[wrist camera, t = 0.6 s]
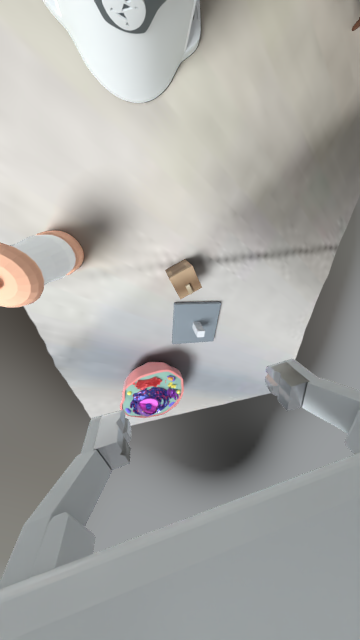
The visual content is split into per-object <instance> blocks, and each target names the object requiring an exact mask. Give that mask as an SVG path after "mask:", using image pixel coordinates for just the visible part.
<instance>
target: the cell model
mask: <svg viewBox="0 0 360 640" xmlns="http://www.w3.org/2000/svg"><path fill="white" fill-rule="evenodd" d="M183 391H184V386H183V378H182V375H181V373H180V371H179V370H178V369H176V368H174V367H172V366H170V365H168V364H166V363H164V362H147V363H145V364H144V365H142V366H140V367H138V368H136V369H134V370H133V371H132V372H131V373H130V374H129V375H128V376H127V378H126V379H125V382H124V385H123V394H122V400H121V404H120V409H121V410H124V412H125V414H126V415H128V416H132V417H140V418H147V417H152V416H158V415H162V414H165V413H167V412H168V411H169V410H171V409H172V408H173V407H175V406H176V405H177V404H178V403H179V401H180V399H181V397H182V395H183Z"/></svg>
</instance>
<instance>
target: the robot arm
mask: <svg viewBox="0 0 360 640" xmlns="http://www.w3.org/2000/svg"><path fill="white" fill-rule="evenodd" d="M43 2H44V4H45V5H46V7H47V8H48V9H49V11H50V12H51V13H52V14H53V16H54V17H55V18H56V19H57V20H58V21H59V22H60V23H61V24H62V26H63V27H64V28H65V29H66V30H67V31H68V33H69V35H70V36H71V38H72V40H73V42H74V44H75V45H76V47H77V49H78V51H79V53H80V55H81V57H82V59H83V60H84V62H85V64H86V65H87V67H88V68H89V70H90V71H91V73H92V74H93V75H94V76H95V78H96V79H97V80H98V81H99V82H100V83H101V84H102V85H103V86H104V87H105V88H106V89H107V90H108V91H110V92H111V93H112V94H114V95H115V96H117V97H119V98H121V99H123V100H125V101H129V102H133V103H143V102H147V101H150V100H153V99H154V98H156V97H157V96H159V95H160V94H161V93H162V92H163V91H164V90H165V89H166V88H167V86H168V85H169V83H170V82H171V80H172V78H173V76H174V74H175V72H176V70H177V68H178V66H179V65H180V63H181V62H182V61H183V60H185V59H186V58H187V57H189V56H190V55H191V54H192V53H193V52H194V51H195V50H196V48H197V46H198V44H199V39H200V33H201V23H200V0H43ZM192 20H193V21H192ZM266 372H267V373H268V374H267V376H266V377H265V382H266V385H267V387H268V389H269V391H270V392H271V393H272V394H273V395H276V396H278V401H279V402H280V404H281V405H282V406H283V407H284V408H285V409H286V410H287V411H290V410H293V409H297V408H299V407H302V408H303V409H305V410H307V411H309V412H311V413H312V414H314V415H316V416H318V417H319V418H321V419H323V420H325V421H327V422H328V423H330V424H332V425H334V426H336V427H337V428H339V429H341V430H343V431H344V432H346V433H348V435H347V437H346V439H345V445H346V446H347V447H348V448H349V449H350V450H351V451H352V452H353V453H354V454H355V455H352V456H349V457H347V458H344V459H342V460H339V461H336V462H334V463H331V464H328V465H326V466H323V467H320V468H318V469H315V470H312V471H310V472H307V473H305V474H302V475H299V476H297V477H294V478H291V479H289V480H286V481H283V482H281V483H278V484H276V485H273V486H270V487H268V488H265V489H263V490H260V491H257V492H254V493H252V494H249V495H247V496H244V497H241V498H239V499H236V500H233V501H231V502H228V503H225V504H223V505H220V506H218V507H215V508H212V509H210V510H207V511H204V512H202V513H199V514H196V515H194V516H191V517H189V518H186V519H183V520H181V521H178V522H175V523H173V524H170V525H167V526H165V527H162V528H160V529H157V530H154V531H152V532H149V533H146V534H144V535H141V536H138V537H136V538H133V539H131V540H128V541H126V542H123V543H120V544H118V545H115V546H112V547H109V548H107V549H104V550H102V551H99V552H96V553H94V554H93V550H94V544H95V535H94V534H93V533H92V532H91V531H90V530H88V529H87V528H86V527H85V525H86V523H87V521H88V519H89V517H90V515H91V513H92V511H93V509H94V507H95V505H96V503H97V501H98V499H99V497H100V495H101V493H102V490H103V489H104V487H105V484H106V482H107V480H108V479H109V476H110V474H111V472H112V470H114V469H116V468H119V467H122V466H124V465H127V464H130V450H131V448H130V446H129V444H128V443H129V441H130V439H131V426H130V422H129V420H128V419H127V418H125V412H124V410H120V411H116V412H112V413H109V414H105V415H101V416H98V417H94V418H92V419H91V421H90V424H89V427H88V430H87V434H86V438H85V441H84V444H83V448H82V451H81V454H80V455H77V456H76V458H75V459H74V461H73V462H72V463H71V464H70V466H69V467H68V468H67V469H66V471H65V472H64V473H63V475H62V476H61V477H60V478H59V480H58V481H57V482H56V484H55V485H54V486H53V488H52V489H51V490H50V491H49V493H48V494H47V495H46V497H45V498H44V499H43V501H42V502H41V503H40V504H39V506H38V507H37V509H36V510H35V511H34V513H33V514H32V515H31V516H30V517H29V519H28V520H27V521H26V523H25V524H24V526H23V528H22V530H21V533H20V535H19V537H18V540H17V542H16V545H15V547H14V549H13V552H12V554H11V557H10V559H9V561H8V564H7V566H6V569H5V571H4V573H3V576H2V578H1V580H0V640H360V390H357V389H354V388H350V387H348V386H345V385H342V384H339V383H336V382H333V381H330V380H327V379H323V378H320V379H319V378H318V377H316V376H315V375H314V374H313V373H311V372H310V371H309V370H307V369H306V368H305V367H303V366H302V365H301V364H300V363H298V362H297V361H296V360H294V359H290V360H287V361H283V362H279V363H276V364H273V365H270V366H267V368H266Z"/></svg>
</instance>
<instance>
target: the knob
mask: <svg viewBox="0 0 360 640" xmlns="http://www.w3.org/2000/svg"><path fill="white" fill-rule="evenodd" d="M165 271H166V273H167V275H168V277H169V279H170V281H171V283H172V284H173V286H174V288H175V290H176V292H177V294H178V296H179V297H180V299H182V298H184V297H185V296H187V295H189V294H192V293H193V292H195V291H196V290H198V289H200V288H202V286H201V284H200V282H199V280H198V277H197V275H196V273H195V270H194V268H193V266H192V265H191V264H190V263H189V262H188V261H187V260H185V259H184V260H183V261H181V262H179V263H177V264H175V265H174V266H172V267H170V268H168V269H167V270H165Z"/></svg>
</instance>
